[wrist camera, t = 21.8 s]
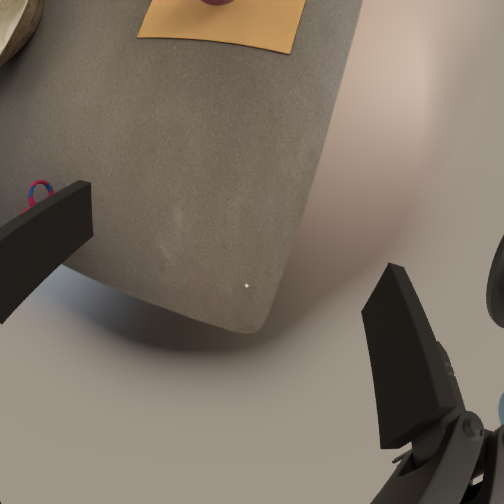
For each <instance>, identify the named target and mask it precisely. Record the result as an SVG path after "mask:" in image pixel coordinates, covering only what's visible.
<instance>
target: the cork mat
mask: <svg viewBox="0 0 504 504" xmlns="http://www.w3.org/2000/svg"><path fill="white" fill-rule="evenodd" d="M304 4H305V0H234V1H232V2H230V3H228V4H225V5H221V6H213V5H209V4H206V3H204V2H202V1H201V0H152V2H151V4H150V7H149V9H148V11H147V14H146V16H145V18H144V21H143V23H142V26H141V28H140V31H139V33H138V36H137V38H183V39H197V40H208V41H217V42H225V43H233V44H239V45H245V46H251V47H257V48H262V49H267V50H272V51H276V52H281V53H285V54H289V55H290V52H291V48H292V45H293V41H294V38H295V34H296V31H297V27H298V24H299V21H300V17H301V14H302V10H303V7H304Z"/></svg>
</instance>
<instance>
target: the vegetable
mask: <svg viewBox="0 0 504 504" xmlns="http://www.w3.org/2000/svg"><path fill="white" fill-rule="evenodd" d="M201 1H202V2H204V3H206V4H209V5H213V6H221V5H225V4H228V3H230V2H232V1H234V0H201Z"/></svg>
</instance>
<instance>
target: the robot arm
mask: <svg viewBox="0 0 504 504" xmlns="http://www.w3.org/2000/svg"><path fill="white" fill-rule="evenodd" d="M92 236H93V224H92V204H91V183H90V182H86V181H81V180H78V181H76V182H75V183H73V184H71V185H69V186H67V187H65V188H63V189H62V190H60V191H58V192H56V193H54V194H53V195H51V196H49V197H48V198H46V199H44V200H42V201H41V202H39V203H37V204H36V205H34V206H33V207H31V208H29V209H28V210H26V211H25V212H23V213H22V214H20V215H18V216H17V217H15V218H14V219H12V220H11V221H9V222H8V223H7V224H5V225H4V226H2V227H1V228H0V323H1V324H3V323H4V322H5V320H6V319H7V318H8V317H9V316H10V315H11V314H12V312H13V311H14V310H15V309H16V308H17V307H18V306H19V305H20V304H21V303H22V302H23V300H25V299H26V298H27V297H28V296H29V295H30V294H31V293H32V292H33V291H34V289H35V288H37V287H38V286H39V285H40V283H42V282H43V280H45V279H46V278H47V277H48V276H49V275H50V274H51V273H52V272H53V271H54V270H55V269H56V268H57V267H58V266H59V265H61V264H62V263H63V262H64V261H65V260H66V259H67V258H68V257H69V256H70V255H72V254H73V253H74V252H75V251H76V250H77V249H78V248H80V247H81V246H82V245H83V244H84V243H85V242H87V241H88V240H89V239H90V238H91V237H92ZM361 313H362V318H363V323H364V328H365V333H366V339H367V344H368V350H369V356H370V362H371V367H372V375H373V381H374V389H375V397H376V405H377V414H378V424H379V433H380V447H381V449H398V448H401V447H403V446H404V445H406V444H407V443H409V442H412V449H410V450H409V451H407V452H405V453H404V454H402V455H400V456H399V457H397V458H395V459H394V460H393V461H392V463H396V462H398V461H399V460H401V459H402V460H401V462H400V464H399V465H397V468H396V470H395V471H394V473H393V474H392V475H391V477H390V478H389V480H388V481H387V482H386V484H385V485H384V486H383V488H382V489H381V491H380V492H379V493H378V494H377V496H376V497H375V498H374V500H373V501H372V502H371V503H370V504H504V393H503V394H502V396H501V398H500V401H499V407H498V408H499V409H498V411H499V419H500V423H501V426H500V427H499V428H498V429H496V430H495V431H494V432H492V431H489V430H486V429H484V427H483V424H482V422H481V419H480V418H479V417H478V416H477V415H476V414H475V413H473V412H470V411H466V410H465V406H464V403H463V400H462V396H461V393H460V390H459V386H458V383H457V380H456V377H455V376H454V371H453V368H452V367H451V363H450V360H449V357H448V355H447V352H446V351H445V350H444V348H443V347H442V345H441V344H440V343H439V342H438V341H436V339H435V336H434V334H433V331H432V329H431V327H430V324H429V322H428V319H427V317H426V314H425V312H424V310H423V307H422V305H421V303H420V301H419V298H418V296H417V294H416V292H415V290H414V288H413V285H412V283H411V281H410V279H409V277H408V275H407V273H406V271H405V269H404V267H401V266H398V265H395V264H392V263H388V266H387V267H386V269H385V271H384V273H383V275H382V276H381V278H380V280H379V282H378V284H377V285H376V287H375V289H374V291H373V292H372V294H371V296H370V298H369V299H368V301H367V303H366V304H365V306H364V308H363V310H362V311H361ZM483 473H484V475H483V481H481V482H479V483H477V484H476V485H473V484H472V483H473V479H474V478H476V477H478V476H480V475H482V474H483ZM0 504H1V502H0Z"/></svg>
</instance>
